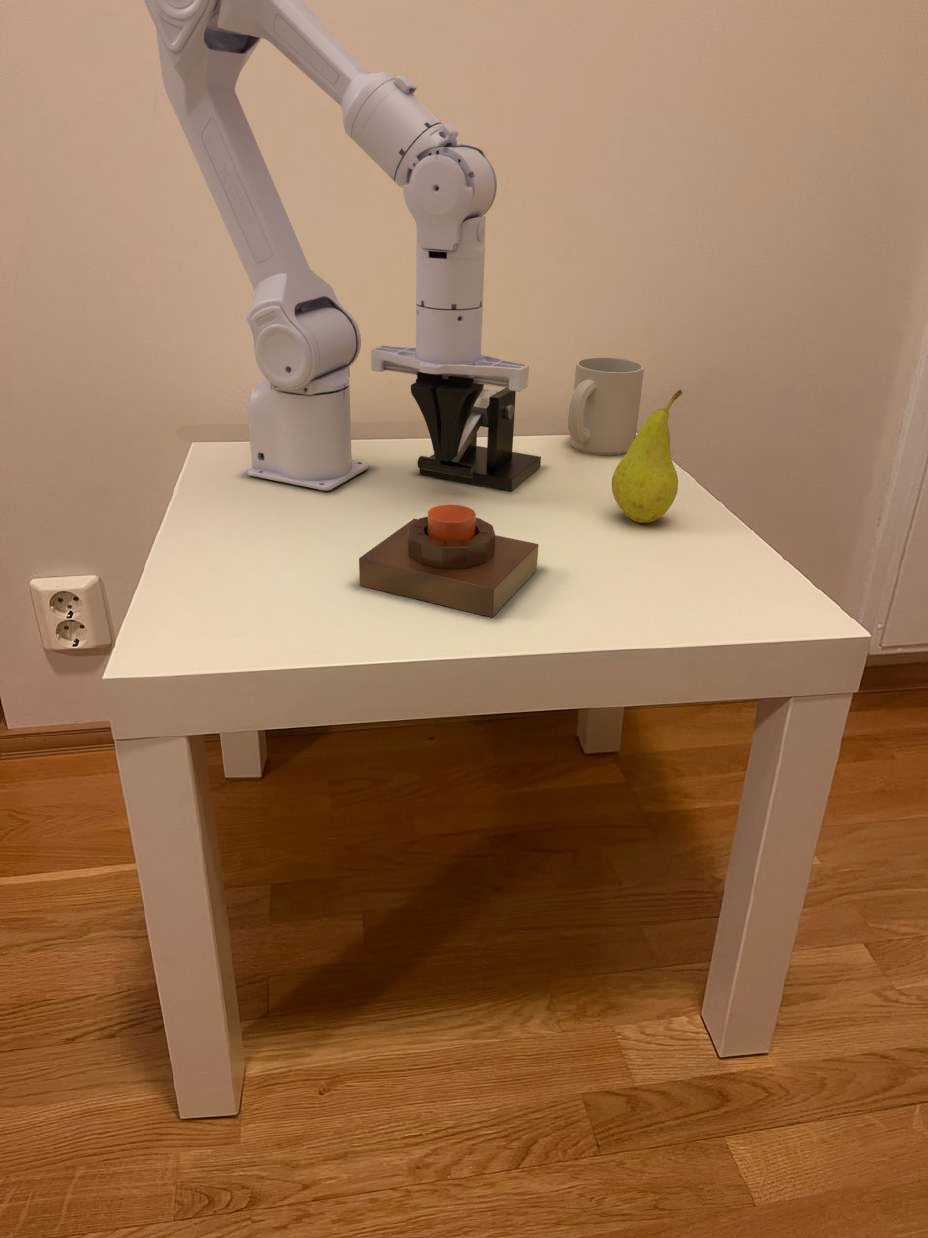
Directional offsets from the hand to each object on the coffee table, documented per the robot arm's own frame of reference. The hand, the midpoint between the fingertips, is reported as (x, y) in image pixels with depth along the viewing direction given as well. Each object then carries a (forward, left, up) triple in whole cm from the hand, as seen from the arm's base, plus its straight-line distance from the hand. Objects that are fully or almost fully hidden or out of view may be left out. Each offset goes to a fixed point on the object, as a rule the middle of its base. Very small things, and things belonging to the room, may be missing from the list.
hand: (446, 457), depth 84 cm
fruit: (+18, +3, -4) cm, 19 cm away
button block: (+8, -16, -4) cm, 18 cm away
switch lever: (0, +5, 0) cm, 5 cm away
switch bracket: (0, +8, -4) cm, 9 cm away
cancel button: (+8, -16, 0) cm, 18 cm away
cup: (+8, +21, -4) cm, 23 cm away
